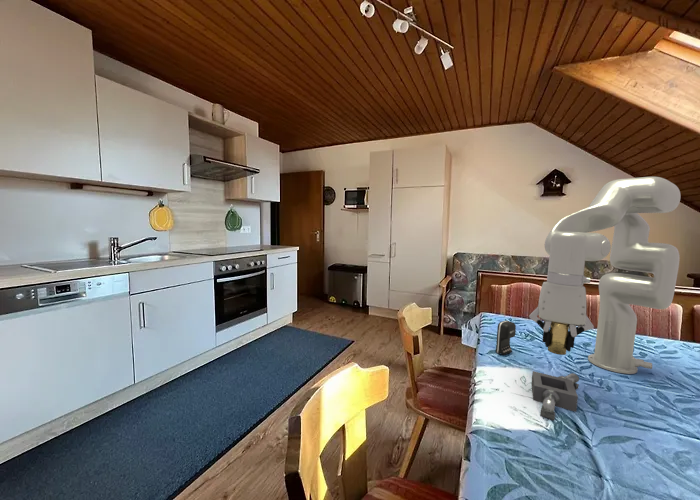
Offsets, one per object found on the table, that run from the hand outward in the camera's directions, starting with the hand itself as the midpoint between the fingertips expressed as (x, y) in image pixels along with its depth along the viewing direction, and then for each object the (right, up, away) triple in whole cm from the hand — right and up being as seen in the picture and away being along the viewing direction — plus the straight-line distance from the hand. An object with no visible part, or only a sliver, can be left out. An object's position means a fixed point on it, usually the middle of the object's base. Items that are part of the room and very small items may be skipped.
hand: (557, 346), depth 78 cm
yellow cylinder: (0, -1, 0) cm, 1 cm away
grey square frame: (0, -14, +1) cm, 14 cm away
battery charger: (+1, -12, +29) cm, 31 cm away
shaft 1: (-6, -14, -5) cm, 16 cm away
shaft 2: (+7, -14, +6) cm, 17 cm away
